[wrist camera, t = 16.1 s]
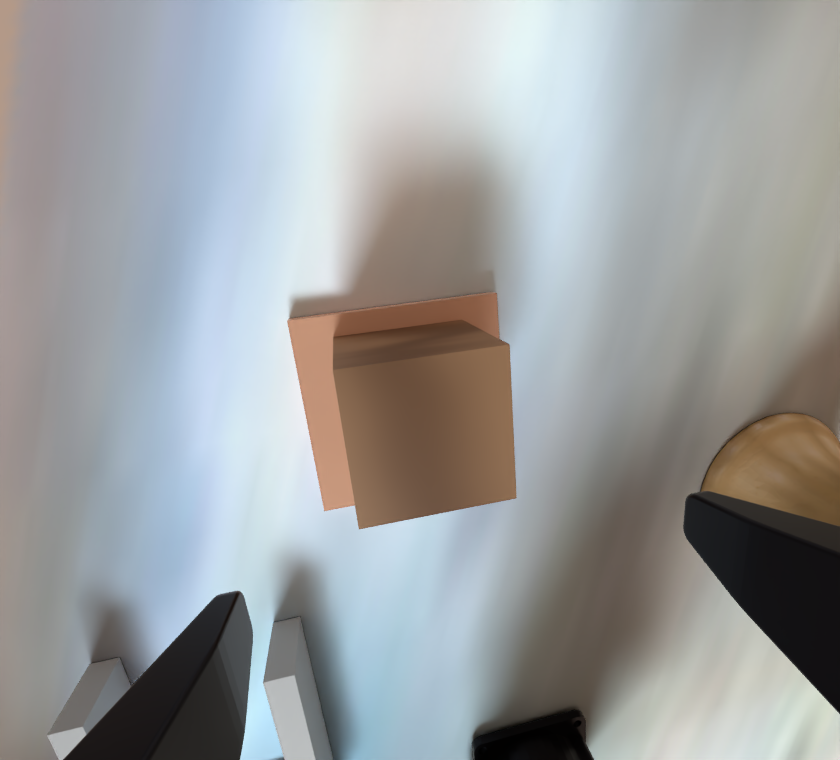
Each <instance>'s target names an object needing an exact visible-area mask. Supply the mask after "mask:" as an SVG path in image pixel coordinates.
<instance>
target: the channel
mask: <svg viewBox="0 0 840 760" xmlns="http://www.w3.org/2000/svg"><path fill="white" fill-rule="evenodd" d="M263 684H264V687H265V691H266V695H267V698H268V702H269V705H270V709H271V713H272V716H273V720H274V723H275V727H276V731H277V734H278V738H279V741H280V745H281V749H282V752H283V756H284V759H285V760H333V756H332V752H331V748H330V743H329V739H328V735H327V730H326V726H325V722H324V717H323V713H322V709H321V705H320V700H319V696H318V692H317V687H316V683H315V679H314V674H313V670H312V666H311V662H310V657H309V653H308V649H307V644H306V640H305V636H304V632H303V627H302V623H301V619H300V617H296V618H292V619H287V620H283V621H278V622H274V623H273V627H272V633H271V639H270V645H269V651H268V657H267V663H266V669H265V675H264V681H263ZM130 687H131V685H130V683H129V680H128V677H127V675H126V672H125V670H124V667H123V665H122V662H121V660H120V657H119V658H114V659H110V660H106V661H101V662H97V663H92V664H89V666H88V668H87V669H86V671H85V673H84V674H83V676H82V678H81V679H80V681H79V683H78V684H77V686H76V688H75V689H74V691H73V693H72V695H71V696H70V698H69V700H68V701H67V703H66V705H65V706H64V708H63V710H62V711H61V713H60V715H59V716H58V718H57V720H56V721H55V723H54V725H53V726H52V728H51V730H50V731H49V733H48V735H47V736H48V738H49V740H50V742H51V744H52V746H53V748H54V751H55V753H56V755H57V757H58V759H59V760H63V759H64V758H65V757H66V756H67V755H68V754H69V753H70V752H71V751H72V749H73V748H74V747H75V746H76V745H77V744H78V743H79V742H80V741H81V740H82V739H83V738H84V737H85V736H86V734H87V733H88V732H89V731H90V730H91V729H92V728H93V727H94V726H95V725H96V724H97V723H98V722H99V721H100V719H101V718H102V717H103V716H104V715H105V714H106V713H107V712H108V711H109V710H110V709H111V708H112V707H113V706H114V704H115V703H116V702H117V701H118V700H119V699H120V698H121V697H122V696H123V695H124V694H125V693H126V692H127V691H128V690H129V688H130Z"/></svg>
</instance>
